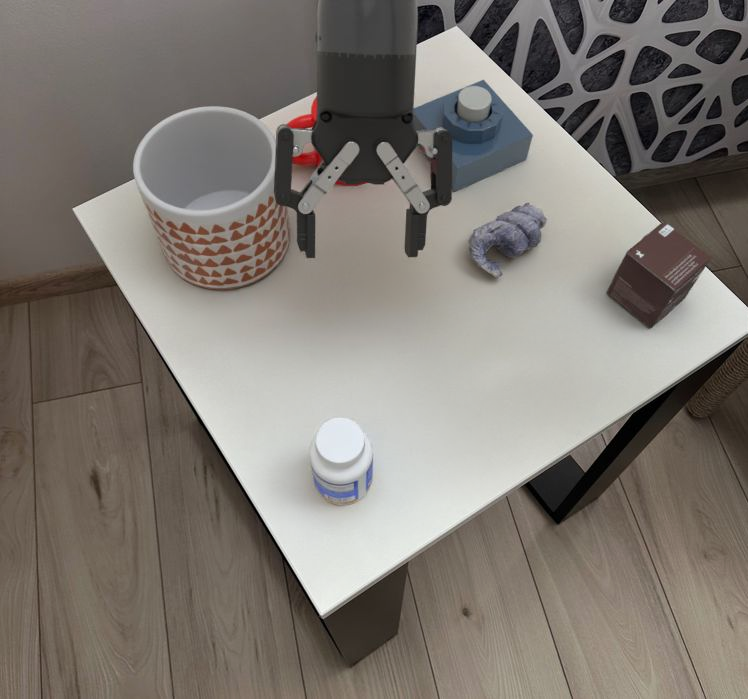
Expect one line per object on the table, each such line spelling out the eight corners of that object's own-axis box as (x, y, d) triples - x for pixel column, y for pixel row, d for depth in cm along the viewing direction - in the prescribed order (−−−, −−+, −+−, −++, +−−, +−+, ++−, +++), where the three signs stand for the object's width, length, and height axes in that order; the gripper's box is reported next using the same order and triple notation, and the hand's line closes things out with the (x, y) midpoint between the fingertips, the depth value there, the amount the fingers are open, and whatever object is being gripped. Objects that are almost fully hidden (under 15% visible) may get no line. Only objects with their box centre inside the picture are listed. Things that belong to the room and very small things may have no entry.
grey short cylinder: (477, 95, 86) (479, 81, 85) (495, 116, 85) (498, 101, 83) (450, 106, 86) (452, 92, 84) (468, 127, 84) (470, 113, 82)
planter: (295, 191, 87) (284, 106, 75) (284, 294, 80) (271, 217, 69) (174, 188, 87) (145, 102, 76) (154, 290, 80) (119, 212, 69)
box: (649, 331, 78) (674, 291, 72) (603, 293, 80) (624, 252, 74) (686, 298, 80) (714, 257, 74) (641, 262, 82) (664, 219, 76)
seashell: (477, 285, 82) (534, 232, 86) (508, 280, 78) (567, 225, 81) (451, 244, 81) (510, 192, 85) (481, 236, 76) (542, 182, 80)
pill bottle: (344, 439, 72) (341, 395, 64) (384, 478, 71) (387, 438, 62) (301, 477, 71) (292, 437, 62) (341, 519, 69) (338, 484, 60)
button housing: (479, 105, 93) (486, 65, 88) (526, 159, 89) (536, 121, 84) (408, 134, 91) (411, 95, 86) (453, 192, 87) (459, 155, 82)
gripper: (274, 46, 53) (277, 270, 60) (471, 52, 56) (455, 267, 62) (269, 43, 60) (273, 244, 67) (446, 48, 63) (433, 243, 69)
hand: (361, 255), depth 64 cm, fingers open, 8 cm apart
